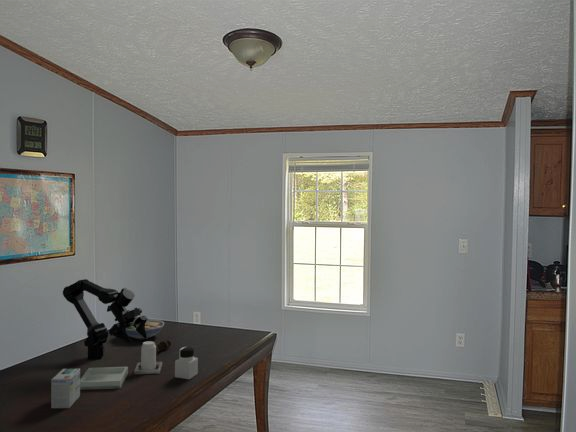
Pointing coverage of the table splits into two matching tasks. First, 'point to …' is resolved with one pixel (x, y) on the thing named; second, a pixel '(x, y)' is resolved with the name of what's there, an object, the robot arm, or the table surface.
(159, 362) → the grey square frame
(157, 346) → the bolt
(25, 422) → the table surface
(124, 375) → the tray
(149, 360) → the beverage can
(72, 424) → the table surface
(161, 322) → the ramen bowl
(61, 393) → the light bulb box
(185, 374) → the medicine bottle
